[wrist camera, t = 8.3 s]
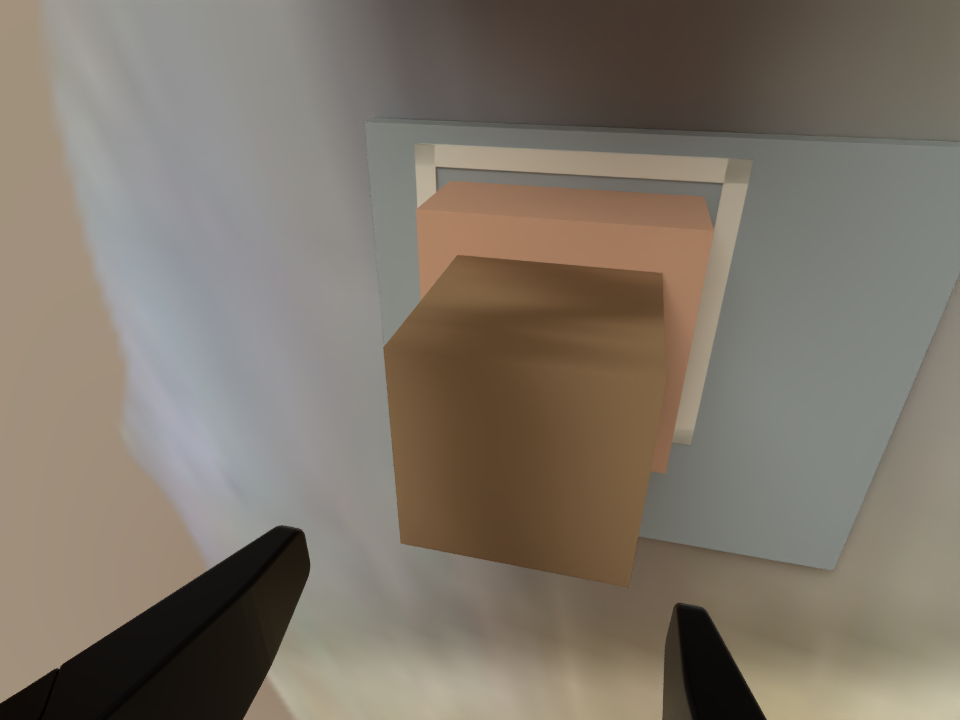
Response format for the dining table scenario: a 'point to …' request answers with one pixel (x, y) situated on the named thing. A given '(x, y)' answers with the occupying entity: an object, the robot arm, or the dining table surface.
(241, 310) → the dining table surface
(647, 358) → the walnut cube
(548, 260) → the terracotta base
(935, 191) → the grey flat slab
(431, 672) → the dining table surface
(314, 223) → the dining table surface
